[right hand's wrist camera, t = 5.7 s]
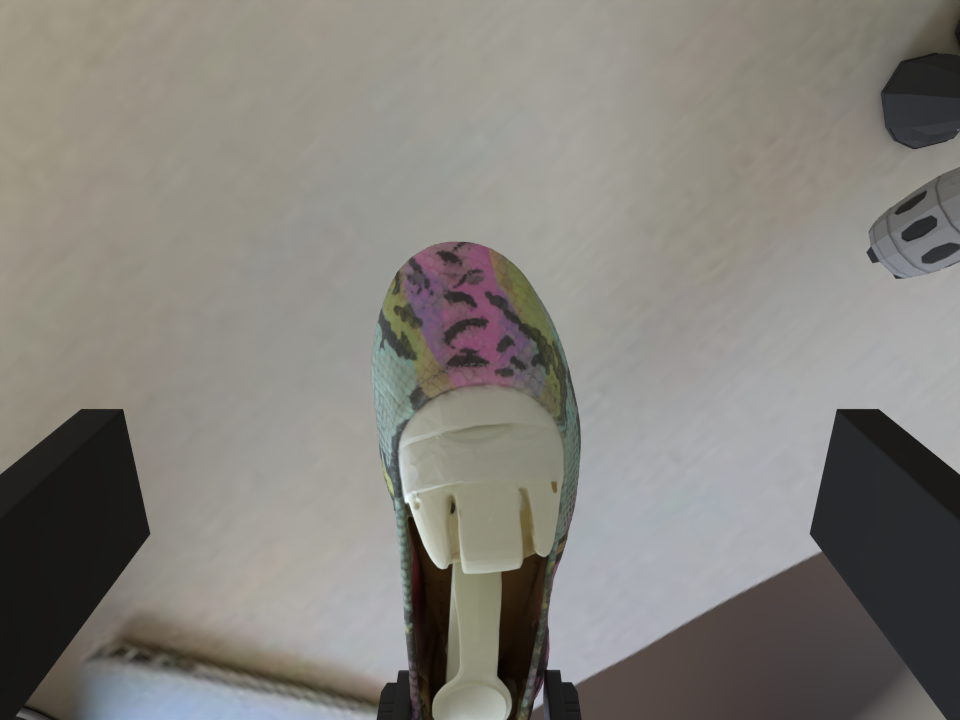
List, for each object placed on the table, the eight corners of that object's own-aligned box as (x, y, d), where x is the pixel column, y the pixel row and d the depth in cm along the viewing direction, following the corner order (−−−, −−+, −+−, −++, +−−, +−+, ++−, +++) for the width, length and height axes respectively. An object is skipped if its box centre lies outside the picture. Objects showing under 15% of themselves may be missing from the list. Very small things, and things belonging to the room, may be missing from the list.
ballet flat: (584, 231, 27) (629, 299, 19) (560, 684, 36) (583, 857, 28) (370, 233, 27) (324, 302, 19) (402, 685, 36) (381, 858, 28)
